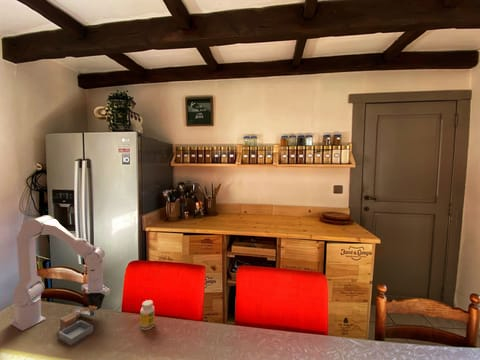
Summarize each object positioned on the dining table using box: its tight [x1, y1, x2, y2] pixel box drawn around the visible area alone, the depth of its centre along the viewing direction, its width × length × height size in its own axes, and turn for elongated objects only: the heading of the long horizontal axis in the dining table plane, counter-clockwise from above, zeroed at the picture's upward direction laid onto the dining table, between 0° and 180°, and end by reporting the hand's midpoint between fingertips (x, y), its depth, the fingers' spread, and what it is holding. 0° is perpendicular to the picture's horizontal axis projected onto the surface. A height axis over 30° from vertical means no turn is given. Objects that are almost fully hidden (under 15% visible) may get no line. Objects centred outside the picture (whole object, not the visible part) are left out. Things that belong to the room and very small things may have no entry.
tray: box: [58, 319, 94, 347], centre depth 89 cm, size 8×8×2 cm
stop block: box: [59, 312, 78, 331], centre depth 93 cm, size 4×4×4 cm
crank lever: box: [71, 305, 97, 319], centre depth 100 cm, size 12×4×6 cm, turn 75°
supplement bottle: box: [139, 299, 155, 331], centre depth 95 cm, size 5×5×10 cm
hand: (95, 308), depth 101 cm, fingers closed on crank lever, 2 cm apart
